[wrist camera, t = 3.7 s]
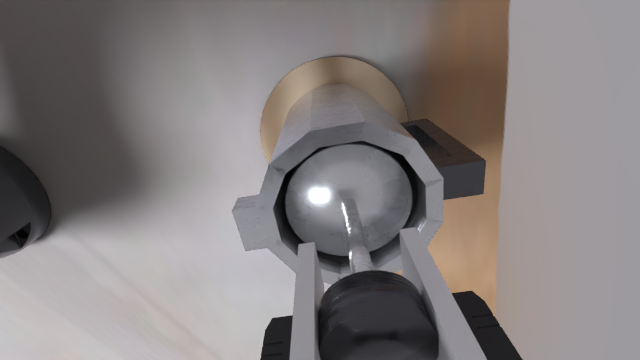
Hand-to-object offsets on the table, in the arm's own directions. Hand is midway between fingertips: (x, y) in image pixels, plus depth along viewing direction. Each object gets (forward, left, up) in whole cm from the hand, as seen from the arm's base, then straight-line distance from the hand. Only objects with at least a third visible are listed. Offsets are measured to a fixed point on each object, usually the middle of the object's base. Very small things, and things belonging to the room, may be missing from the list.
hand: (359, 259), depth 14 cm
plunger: (0, 0, -6) cm, 6 cm away
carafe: (0, 0, -20) cm, 20 cm away
